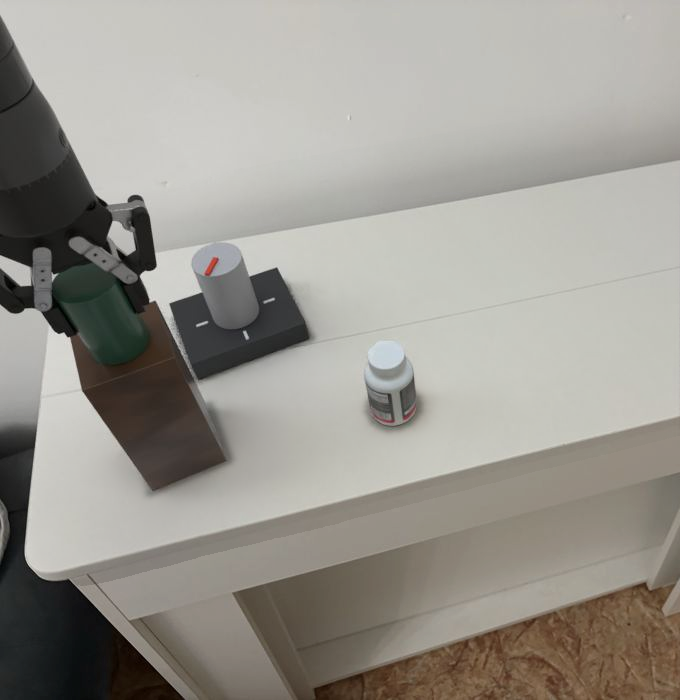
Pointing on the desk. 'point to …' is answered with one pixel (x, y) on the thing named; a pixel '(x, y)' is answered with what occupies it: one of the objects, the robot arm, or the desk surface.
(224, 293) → the grey round cylinder
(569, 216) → the desk surface
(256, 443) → the desk surface
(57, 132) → the robot arm
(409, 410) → the pill bottle
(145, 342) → the tea tin
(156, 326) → the stand
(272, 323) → the dark grey panel
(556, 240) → the desk surface
